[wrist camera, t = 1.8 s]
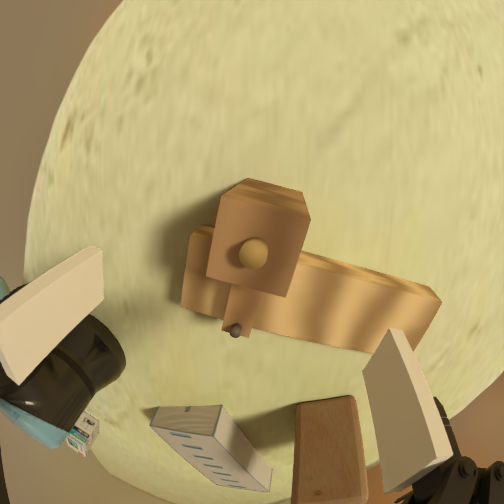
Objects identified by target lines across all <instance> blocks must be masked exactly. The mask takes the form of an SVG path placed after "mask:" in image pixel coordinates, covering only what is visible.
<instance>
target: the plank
mask: <svg viewBox="0 0 504 504" xmlns="http://www.w3.org/2000/svg"><path fill="white" fill-rule="evenodd" d="M214 229H215V228H213V227H209V226H205V225H200V226H199V227H198V228H197V229H196V230H195V231H194V232H193V233H192V234H190V238H189V244H188V251H187V258H186V265H185V273H184V280H183V288H182V296H181V305H180V307H183V308H186V309H189V310H192V311H195V312H199V313H202V314H205V315H209V316H212V317H216V318H219V319H223V320H224V316H225V312H226V307H227V303H228V298H229V294H230V289H231V285H232V284H231V283H228V282H224V281H221V280H217V279H214V278H210V277H207V276H206V272H207V266H208V261H209V255H210V250H211V244H212V239H213V234H214ZM441 303H442V301H441V300H440V299H439V298H438V296H437V295H436V294H435V293H434V292H433V290H432V289H431V288H430V287H428V286H425V285H421V284H418V283H414V282H411V281H407V280H404V279H401V278H397V277H394V276H390V275H387V274H383V273H380V272H376V271H372V270H369V269H365V268H362V267H358V266H355V265H351V264H347V263H344V262H340V261H337V260H333V259H329V258H326V257H322V256H319V255H315V254H311V253H308V252H304V251H301V253H300V256H299V259H298V262H297V265H296V268H295V271H294V274H293V277H292V280H291V283H290V286H289V289H288V292H287V295H286V298H284V297H280V296H276V295H273V294H269V293H265V292H262V295H261V298H260V302H259V305H258V309H257V312H256V315H255V319H254V322H253V325H252V328H256V329H260V330H264V331H268V332H272V333H276V334H280V335H284V336H288V337H293V338H297V339H302V340H306V341H311V342H315V343H320V344H325V345H330V346H335V347H340V348H345V349H351V350H356V351H362V352H368V353H374V352H375V351H376V349H377V348H378V346H379V344H380V343H381V341H382V339H383V337H384V336H385V334H386V332H387V330H388V329H389V328H393V329H398V330H403V332H404V334H405V336H406V338H407V340H408V343H409V345H410V347H411V349H412V351H414V350H415V348H416V347H417V345H418V343H419V342H420V340H421V339H422V337H423V335H424V334H425V332H426V330H427V329H428V327H429V325H430V323H431V322H432V320H433V318H434V316H435V315H436V313H437V311H438V309H439V307H440V305H441Z"/></svg>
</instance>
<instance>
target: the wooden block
mask: <svg viewBox="0 0 504 504" xmlns="http://www.w3.org/2000/svg"><path fill="white" fill-rule="evenodd" d="M368 496H369V495H368V483H367V474H366V465H365V457H364V449H363V442H362V435H361V428H360V422H359V416H358V410H357V404H356V400H355V398H354V397H353V396H345V397H339V398H333V399H327V400H320V401H313V402H305V403H300V404H298V406H297V408H296V421H295V446H294V465H293V481H292V495H291V504H366V501H367V499H368Z"/></svg>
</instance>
